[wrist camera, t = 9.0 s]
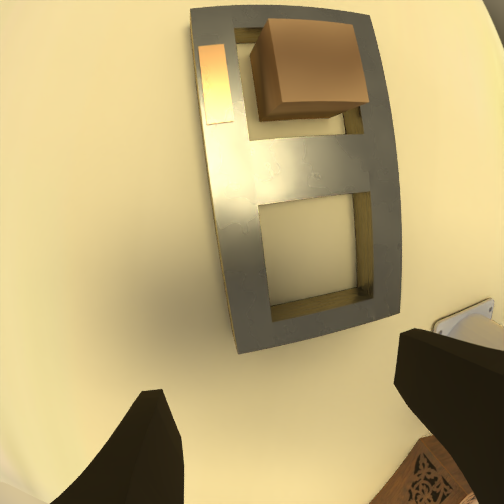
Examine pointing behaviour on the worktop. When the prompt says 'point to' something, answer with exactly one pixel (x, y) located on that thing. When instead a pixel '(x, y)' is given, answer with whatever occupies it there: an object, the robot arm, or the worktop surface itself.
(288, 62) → the square peg
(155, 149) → the worktop surface
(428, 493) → the tissue box cover
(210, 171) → the socket plate
